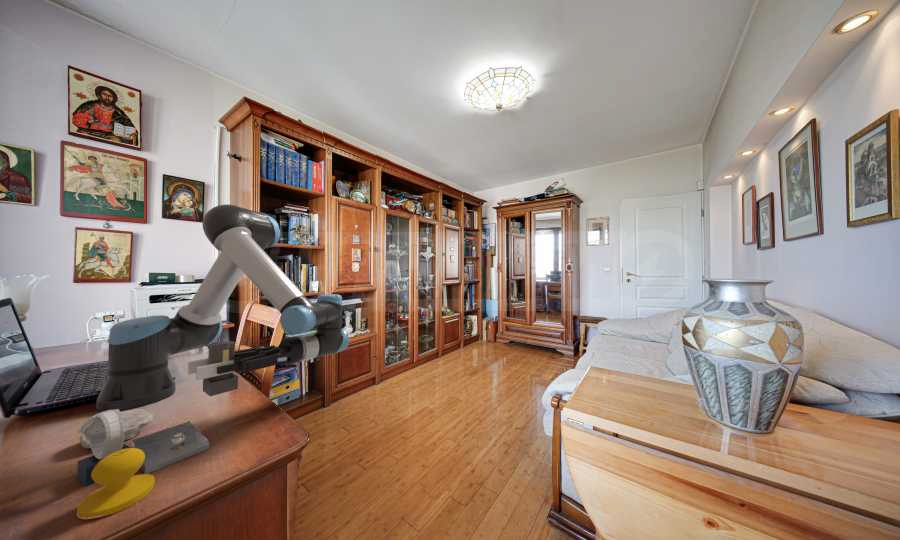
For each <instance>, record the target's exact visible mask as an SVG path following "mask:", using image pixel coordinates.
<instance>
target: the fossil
mask: <svg viewBox="0 0 900 540" xmlns="http://www.w3.org/2000/svg"><path fill="white" fill-rule="evenodd" d="M121 413H122V417H123V418H122V419H123V425H124V435H125V438H124V442H125V441H128V440H130V439H131V440H132V439H133V438H135V437H136V436H137V435H138V433H139V431H140V430H141V429H143V428H144V427H147V426H149V425H150V424H151V422H152V421H153V418H154V415H155V413H154V412H152V411H151V412H150V411H147V410H145V409H143V408H140V409H139V408H138V409H137V408H135V409H133V408H132V409H131V410H130V409H128V410H124V411H121ZM79 441H80V444H81V446H82V447H83V448H85V449H92V448H91V445H90V441H87V440H86V438H85V436H84V435H83V433H82V432H81V433H80V436H79ZM104 441H105V440H104ZM101 442H102V441H101Z"/></svg>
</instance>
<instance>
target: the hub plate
mask: <svg viewBox="0 0 900 540" xmlns="http://www.w3.org/2000/svg"><path fill="white" fill-rule="evenodd" d="M131 448H137V449H140V450H142V451H143V452H144V454H145V460H144V462H143V464H142V466H141V467H140V468H141V469H142V471H143V473H144V474H151V473H154V472H156V471H158V470H161V469H164V468H165V467H168V466H170V465H173V464H176V463H178V462H180V461H183V460H185V459H188V458H190V457H193V456H194V455H195V456H196V455H197V454H200V453H203V452H205V451H207V450H210V441H209V440H208V439H207V438H206V437H205V436H204V434H203V433H201V431H200V430H199V429H198V428H197V427H196V426H195V425H194V424H193V423H192V422H191V421H190V420H189V421H186V422H183V423H180V424H176V425H174V426H171V427H167V428H165V429H162V430H158V431H156V432H152V433H150V434H147V435H143V436H140V437H137V438H134V439H131Z"/></svg>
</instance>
